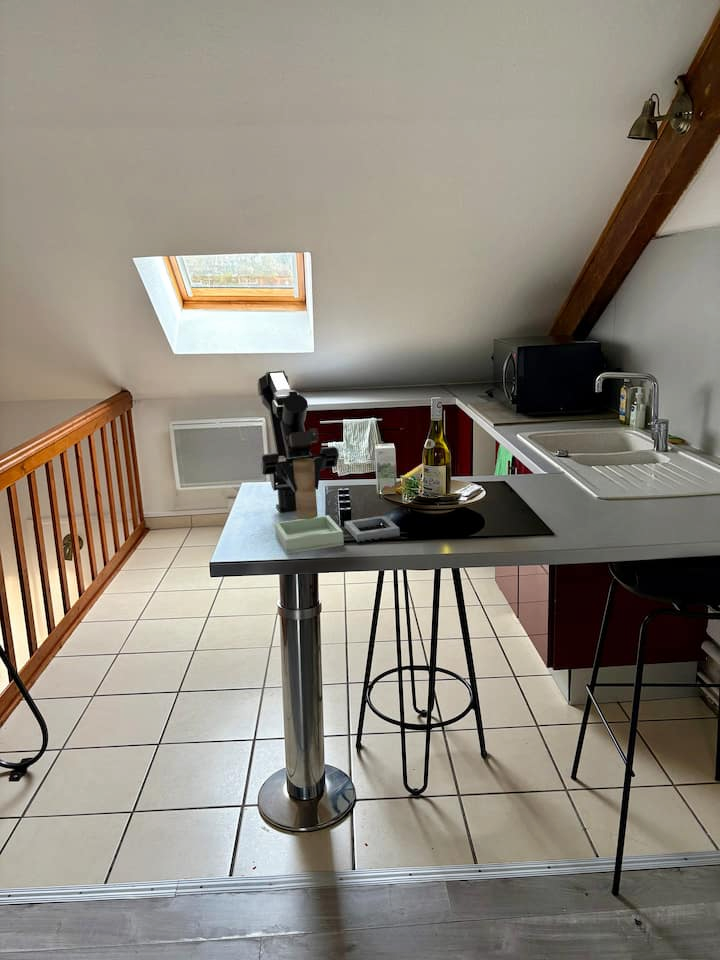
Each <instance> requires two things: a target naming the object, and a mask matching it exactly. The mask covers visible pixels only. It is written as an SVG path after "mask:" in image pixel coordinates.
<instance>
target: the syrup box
mask: <svg viewBox="0 0 720 960" xmlns="http://www.w3.org/2000/svg"><path fill="white" fill-rule="evenodd" d="M374 454H375V455H374V456H375V475H376V476H375V477H376V478H375V479H376V482H375V483H376V492H377V496H380V495H379V493H380V489H381V488H382V487H384V486H389V487H392V486H397V461H396V460H397V459H396V456H397V455H396V447H395V444H394V443H379V444H374Z"/></svg>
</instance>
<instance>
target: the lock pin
mask: <svg viewBox="0 0 720 960" xmlns="http://www.w3.org/2000/svg"><path fill="white" fill-rule="evenodd" d="M293 470H294V482H295V485H296V492H295V495H296V508H297V510H296V518H297V519H312V518H315V517H318V516H319V515H318V502H317V490H316V486H315V471H314V459H311V458H300V459H296V460H293Z"/></svg>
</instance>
